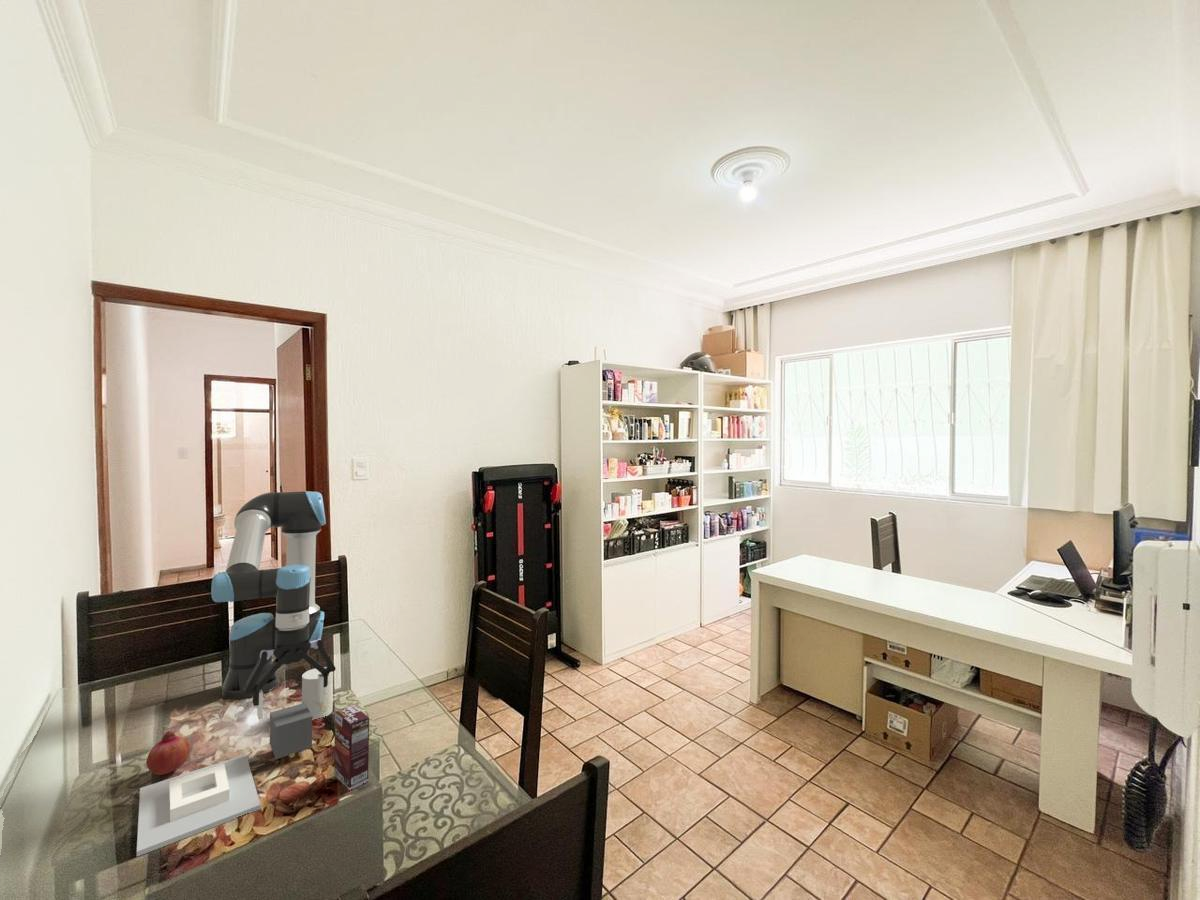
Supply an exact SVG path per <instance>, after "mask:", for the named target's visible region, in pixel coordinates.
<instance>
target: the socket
mask: <svg viewBox="0 0 1200 900" xmlns="http://www.w3.org/2000/svg"><path fill="white" fill-rule="evenodd" d="M259 810H261V801H260V798H259V795H258V792H257V787H256V785H255V782H254V778H253V774H252V771H251V767H250V763H249V760H248V756H247V754H242V755H239V756H236V757H233V758H229V759H227V760H224V761H221V762H216V763H214V764H211V765H208V766H205V767H202V768H199V769H195V770H192V771H190V772H186V773H184V774H180V775H177V776H174V777H170V778H168V779H163V780H162V781H158V782H155V783H151V784H148V785H146V786H143V787H140V788H139V803H138V821H137V837H136V839H137V840H136V857H139V856H143V855H145V854H147V853H151V852H152V851H156V850H158V849H161V848H164V847H165V846H168V845H171V844H173V843H176V842H179V841H181V840H184V839H187V838H189V837H192V836H194V835H197V834H199V833H202V832H204V831H207V830H210V829H212V828H215V827H218V826H220V825H223V824H225V823H229V822H230V820H231V821H233V820H232V819H234V818H236V819H238V818H237V817H239V816H241V817H243V816H242V815H244V814H246V815H248V814H247V813H249V814H252V813H254V812H256V811H259ZM244 816H245V815H244ZM239 818H240V817H239ZM234 820H235V819H234Z"/></svg>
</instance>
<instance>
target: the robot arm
mask: <svg viewBox="0 0 1200 900" xmlns="http://www.w3.org/2000/svg"><path fill="white" fill-rule="evenodd" d="M323 499H324V498H323V495H322V493H320V492H319V491H307V490H306V491H304V490H303V491H285V492H284V491H280V492H279V491H277V492H274V491H271V492H265V493H262V494H259V495H258V496H257V495H256V496H255V497H254V498H252V499H250V500H248V501H247V502H246V503H245V504H244V505H243V506H241V507H240V509H239V510H238V511H237V513H236V515H235V517H234V522H233V525H234V528H235V533H234V538H233V542H232V545H231V549H230V553H229V557H228V562H227V563H226V569H225V571H224V572H221V573H217V574H214V575H213V577H212V580H211V588H210V589H211V590H210V591H211V592H210V593H211V599H212V601H213V602H215V603H228V602H231V603H232V602H238V601H239V602H240V601H247V600H255V599H256V600H257V599H267V598H274V597H275V598H276V599H275V601H276V602H275V605H276V607H275V608H276V609H275V617H274V615H273V613H271V612H260V613H257V614H251V615H249V616H246V617H245V616H244V617H243V618H241V619H239V620H236V621H235V622H234V623H233V624H232V625H231V626H230V632H229V637H228V640H229V656H228V657H229V658H228V659H229V661H228V663H229V665H228V666H229V668H228V670H227V671H228V672H227V674H226V677H225V679H224V682H223V684H222V687H221V695H222V697H223V698H225V699H228V700H241V699H248V698H252V702H251V703H252V705H253V707H256V708H257V711H256V712H257V713H256V716H257V719H258V720H263V717H264V716H263V712H264V711H263V709H264V707H263V706H264V705H263V704H264V694H265V693H264V692H266V693H267V691H268V692H269V690H270V689H272V688H273V687H274V688H276V687H277V686H276V685H278V684H277V683H279V676H278V673H277V671H278V669H280V668H281V667H282V665H290V664H293V663H299V662H300V661H302V660H304V661H306V662H307V663H308V664H309V665H310V666H312V667H313V669H317V670H318V671H319V672H320V673H321V674H318V700H319V701H320V702H323V688H324V687H327V685H328V675H329V673H330V672H333V673H334V672H335V671H336V666H335V664H334V663H333V662H332V660H331V658H330V657H329V655H328V653H327V652H326V650H325V648H324V643H323V640H322V635H323V628H324V620H325V611H322V610H320V609H321V607H320V606H319V605H318V604H317V603H316V560H317V559H316V557H317V555H316V553H317V552H316V549H317V535H318V534H319V533H320V532H321V531H322V526H325V525H326V524H327V522H326V521H327V520H326V515H325V505H324V500H323ZM270 528H281V533H282V534H283V535H284V536H285V537H286V562H285V563H286V564H285V566H282V567H277V568H269V569H268V568H266V569H260V565H261V560H262V554H263V549H264V543H265V538H266V532H268V531H269V529H270ZM312 648H314V649H315V650H317V651H318V653H319V655H320V656H321V657H322V660H323V661H324V663H325V664H326V667H327V668H324V666H323V665H322V664H320V663H319V662H318V661H317V660H316V659H315V658H314V657H312V656H311V655H310V654H309V653H308V652H309V651H310V649H312ZM273 656H274V657H275V658H274V660H273ZM275 686H276V687H275ZM274 688H273V689H274ZM273 689H272V690H273ZM270 691H271V690H270Z"/></svg>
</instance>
